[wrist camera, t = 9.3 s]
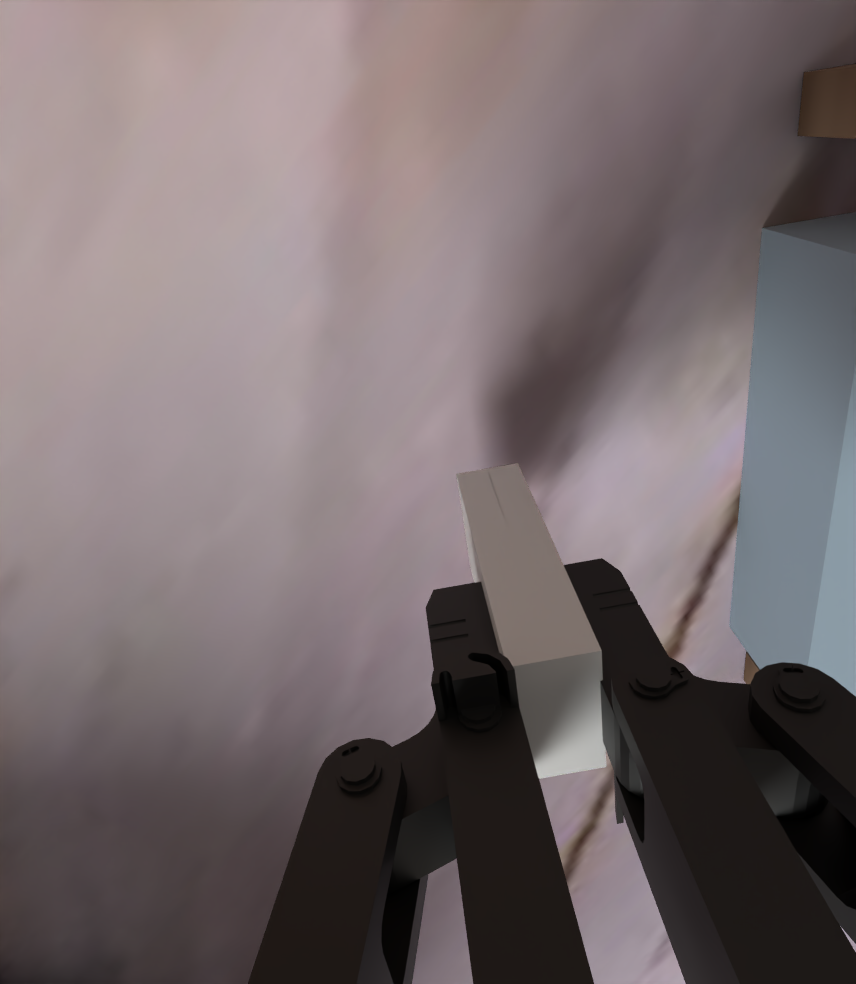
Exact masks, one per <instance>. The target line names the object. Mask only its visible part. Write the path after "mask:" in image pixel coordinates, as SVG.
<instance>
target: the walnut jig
mask: <svg viewBox="0 0 856 984" xmlns="http://www.w3.org/2000/svg"><path fill="white" fill-rule="evenodd" d="M798 136H810V137H832V138H853V139H856V64H850V65H844V66H838V67H832V68H826V69H821V70H815V71H809V72H804V76H803V86H802V96H801V106H800V116H799V126H798ZM759 670H760V669H759V667H758V666H757V665H756V663H755V662H754V660H753V659H752V658H751V656H750V655H749V653H748V652H746V660H745V670H744V681H745V682H746V684H750V683H751V681H752V679H753V677H754V675H755V673H756V672H757V671H759Z"/></svg>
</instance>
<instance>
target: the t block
mask: <svg viewBox="0 0 856 984" xmlns="http://www.w3.org/2000/svg"><path fill="white" fill-rule="evenodd" d="M729 627H730V628H731V629H732V631H733V632H734V634H735V635H736V636H737V638H738V639H739V641H740V642H741V643H742V645H743V646H744V648H745V649H746V651H747V652H748V653H749V655H750V656H751V658H752V659H753V660H754V662H755V663H756V665H757V666H758V667H759V669H762V668H763V667H765V666H766V665H771V664H776V663H781V662H786V663H800V664H803V665H806V666H810V667H813V668H816V669H819V670H820V671H822V672H823V673H825V674H827V675H828V676H830V677H832V678H833V679H835V680H836V681H837V682H838V683H840V684H841V685H842V686H843V687H845V688H846V689H847V690H848V691H850V692H851V693H852V694H853V695H854V696H856V212H853V213H847V214H841V215H835V216H830V217H824V218H818V219H812V220H806V221H800V222H794V223H788V224H783V225H777V226H771V227H765V228H762V235H761V247H760V259H759V272H758V284H757V296H756V308H755V320H754V333H753V345H752V357H751V369H750V381H749V394H748V406H747V418H746V430H745V442H744V455H743V467H742V479H741V491H740V504H739V516H738V528H737V540H736V552H735V565H734V577H733V589H732V601H731V613H730V626H729Z"/></svg>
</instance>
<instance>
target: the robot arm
mask: <svg viewBox="0 0 856 984" xmlns="http://www.w3.org/2000/svg"><path fill="white" fill-rule="evenodd" d="M456 477H457V483H458V490H459V496H460V503H461V509H462V516H463V523H464V529H465V536H466V542H467V549H468V555H469V562H470V568H471V572H472V576H473V580H474V583H470V584H464V585H459V586H453V587H447V588H442V589H436V590H433V592H432V595H431V597H430V599H429V601H428V604H427V606H426V613H427V621H428V628H429V636H430V643H431V651H432V659H433V667H434V671H433V674H432V682H431V686H432V691H433V696H434V701H435V705H436V711H435V714H434V716H433V718H432V719H431V721H430V722H429V724H428V725H427V726H426V727H425V728H424V729H423V730H421V731H420V732H419V733H418V734H416V735H414V736H413V737H411V738H410V739H408V740H406V741H404V742H402V743H399V744H397V745H395V746H393V747H391V746H390V745H388V744H387V743H386V742H384V741H381V740H376V739H371V738H366V739H359V740H353V741H351V742H349V743H346V744H344V745H342V746H340V747H338V748H337V749H336V750H335V751H334V752H332V753H331V754H330V755H329V756H328V757H327V758H326V759H325V761H324V763H323V764H322V766H321V768H320V770H319V772H318V774H317V777H316V780H315V783H314V786H313V789H312V792H311V795H310V798H309V801H308V804H307V807H306V810H305V814H304V817H303V820H302V823H301V826H300V829H299V832H298V835H297V838H296V841H295V844H294V847H293V850H292V853H291V856H290V859H289V862H288V865H287V868H286V871H285V874H284V877H283V880H282V883H281V886H280V889H279V892H278V895H277V898H276V901H275V904H274V907H273V910H272V913H271V916H270V919H269V922H268V925H267V928H266V931H265V934H264V937H263V940H262V943H261V946H260V949H259V952H258V955H257V958H256V961H255V964H254V967H253V970H252V973H251V976H250V979H249V982H248V984H412V979H413V972H414V966H415V959H416V952H417V946H418V939H419V933H420V926H421V919H422V913H423V906H424V900H425V893H426V886H427V880H428V874H429V873H431V872H433V871H434V870H436V869H438V868H440V867H442V866H443V865H445V864H447V863H449V862H451V861H453V860H454V859H456V858H457V863H458V870H459V878H460V886H461V893H462V901H463V908H464V916H465V924H466V931H467V939H468V946H469V954H470V961H471V969H472V977H473V984H594V982H593V978H592V974H591V970H590V967H589V963H588V959H587V956H586V952H585V948H584V945H583V941H582V937H581V933H580V930H579V926H578V922H577V919H576V915H575V911H574V908H573V904H572V900H571V896H570V893H569V889H568V885H567V882H566V878H565V874H564V871H563V867H562V863H561V859H560V856H559V852H558V848H557V845H556V841H555V837H554V833H553V830H552V826H551V822H550V819H549V815H548V811H547V808H546V804H545V800H544V796H543V793H542V789H541V785H540V782H539V779H542V778H547V777H553V776H558V775H564V774H570V773H575V772H581V771H587V770H592V769H598V768H603V767H606V751H607V753H608V756H609V759H610V761H611V764H612V766H613V769H614V783H615V812H616V819H617V824H619V823H624V822H623V815H624V818H625V820H626V823H627V826H628V828H629V831H630V834H631V836H632V839H633V842H634V845H635V847H636V850H637V853H638V855H639V858H640V861H641V864H642V866H643V869H644V872H645V874H646V877H647V880H648V882H649V885H650V888H651V891H652V893H653V896H654V899H655V901H656V904H657V907H658V909H659V912H660V915H661V918H662V920H663V923H664V926H665V928H666V931H667V934H668V936H669V939H670V942H671V945H672V947H673V950H674V953H675V955H676V958H677V961H678V964H679V966H680V969H681V972H682V974H683V977H684V980H685V982H686V984H856V952H855V951H854V949H853V947H852V945H851V944H850V942H849V940H848V939H847V937H846V935H845V933H844V932H843V930H842V928H843V929H844V931H845V932H846V933H847V934H848V935H849V936H850V938H851V939H852V940H853V941H854V942H855V943H856V696H854V695H853V694H852V693H851V692H850V691H848V690H847V689H846V688H845V687H843V686H842V685H841V684H840V683H838V682H837V681H836V680H835V679H833V678H832V677H830V676H828V675H827V674H825V673H823V672H822V671H820V670H819V669H816V668H813V667H810V666H806V665H803V664H800V663H786V662H781V663H776V664H771V665H766V666H765V667H763V668H762V669H760V670H759V671H757V672H756V673H755V675H754V677H753V679H752V681H751V683H750V684H740V683H727V682H717V681H711V680H705V679H702V678H699V677H696V676H694V675H693V674H692V673H691V672H690V671H689V670H688V669H687V668H686V667H685V666H684V665H683V664H681V663H679V662H678V661H676V660H674V659H672V658H670V657H669V656H668V655H667V653H666V651H665V650H664V648H663V646H662V644H661V642H660V641H659V639H658V637H657V635H656V634H655V632H654V630H653V628H652V626H651V625H650V623H649V621H648V619H647V618H646V616H645V614H644V612H643V611H642V609H641V607H640V605H638V602H637V600H636V598H635V596H634V595H633V593H632V591H630V587H629V586H628V584H627V582H626V580H625V579H624V577H623V575H622V573H621V572H620V571H619V570H618V569H616V568H615V567H614V566H612V565H611V564H609V563H608V562H607V561H605V560H604V559H602V558H601V559H596V560H590V561H584V562H579V563H573V564H568V565H563V563H562V561H561V559H560V556H559V554H558V552H557V550H556V547H555V545H554V543H553V541H552V538H551V536H550V534H549V532H548V529H547V527H546V525H545V523H544V520H543V518H542V516H541V514H540V511H539V509H538V507H537V505H536V503H535V500H534V498H533V496H532V494H531V491H530V489H529V487H528V485H527V482H526V480H525V478H524V476H523V473H522V471H521V469H520V467H519V464H518V463H515V464H510V465H504V466H499V467H493V468H487V469H482V470H476V471H471V472H465V473H459V474H456ZM840 926H841V927H842V928H841V927H840Z"/></svg>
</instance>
